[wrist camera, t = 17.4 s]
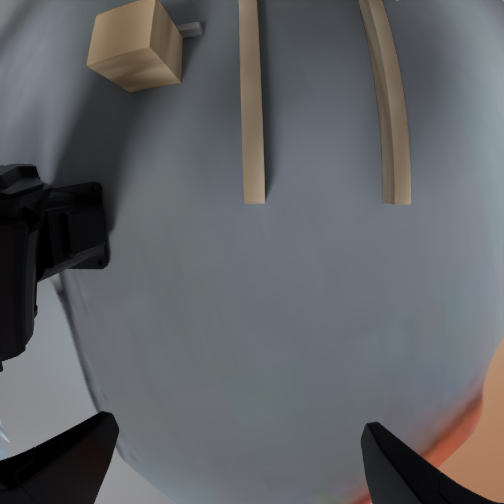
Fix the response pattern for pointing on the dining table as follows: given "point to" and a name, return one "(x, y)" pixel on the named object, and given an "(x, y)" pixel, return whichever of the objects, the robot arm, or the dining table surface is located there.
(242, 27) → the channel
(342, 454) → the dining table surface
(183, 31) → the scraper
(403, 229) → the dining table surface
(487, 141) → the dining table surface
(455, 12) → the dining table surface
